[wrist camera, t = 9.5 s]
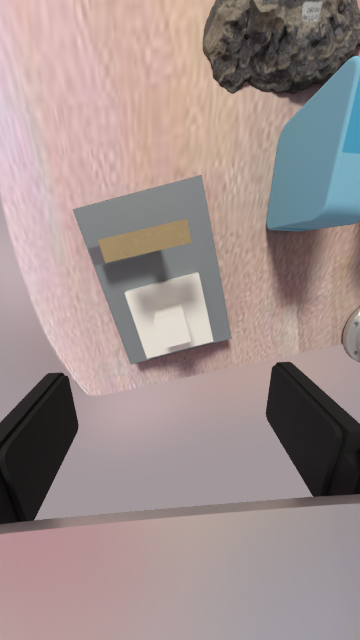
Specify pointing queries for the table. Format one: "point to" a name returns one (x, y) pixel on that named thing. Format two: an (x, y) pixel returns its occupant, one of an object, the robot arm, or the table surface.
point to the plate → (156, 253)
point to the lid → (170, 315)
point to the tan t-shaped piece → (141, 242)
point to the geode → (280, 42)
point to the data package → (320, 159)
